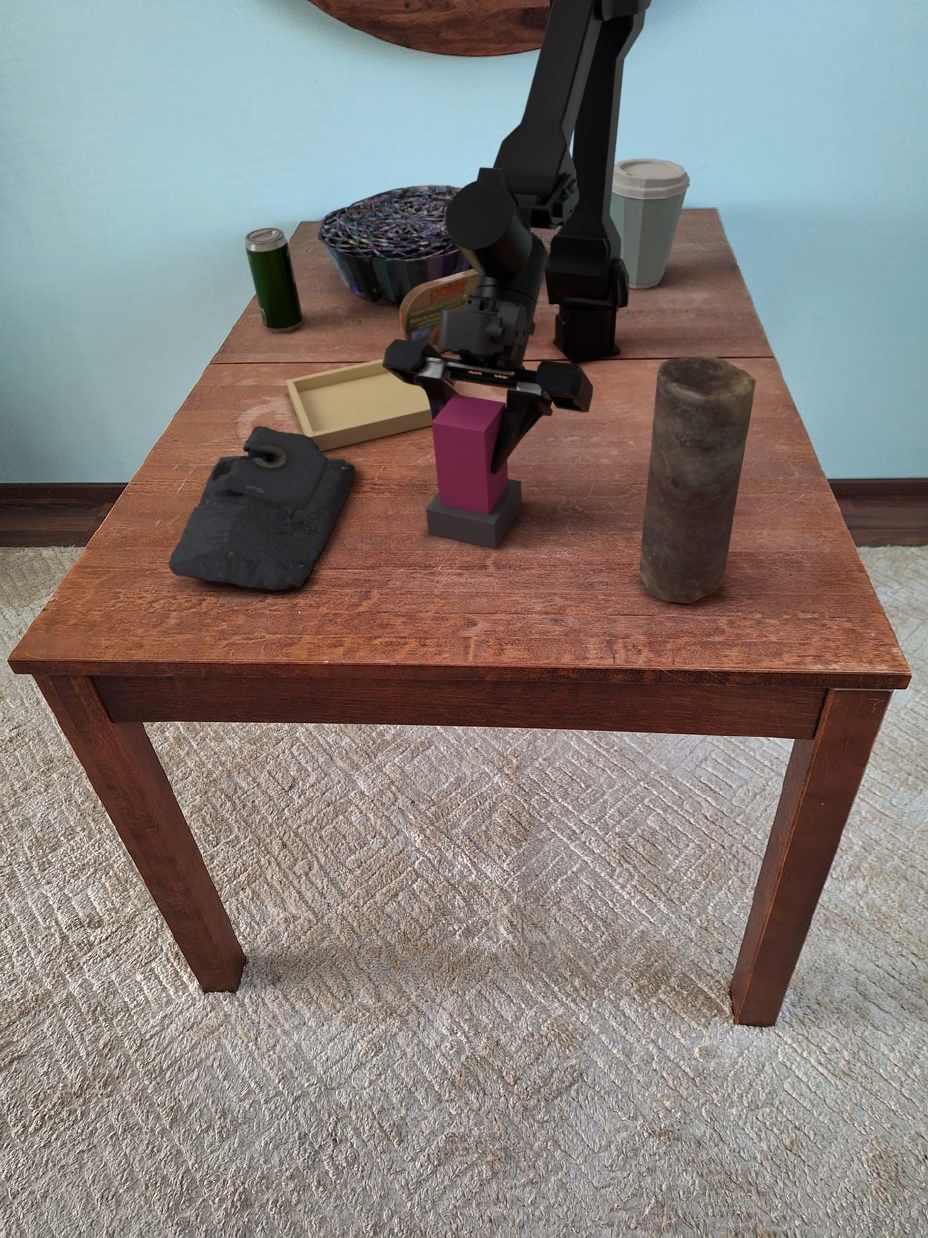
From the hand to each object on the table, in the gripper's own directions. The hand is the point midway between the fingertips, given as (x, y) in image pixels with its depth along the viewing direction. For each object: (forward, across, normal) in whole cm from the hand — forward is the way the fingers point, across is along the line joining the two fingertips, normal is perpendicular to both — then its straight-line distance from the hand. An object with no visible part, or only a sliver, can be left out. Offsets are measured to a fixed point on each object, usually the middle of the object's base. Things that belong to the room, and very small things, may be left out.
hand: (465, 467), depth 79 cm
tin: (-20, -16, +30) cm, 39 cm away
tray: (-7, -20, +17) cm, 27 cm away
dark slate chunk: (+9, -20, +1) cm, 22 cm away
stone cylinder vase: (+6, +20, +5) cm, 22 cm away
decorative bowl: (-32, -30, +42) cm, 61 cm away
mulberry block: (+2, 0, +4) cm, 4 cm away
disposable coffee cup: (-36, +1, +47) cm, 59 cm away
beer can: (-18, -41, +28) cm, 53 cm away
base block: (+4, 0, +6) cm, 7 cm away
